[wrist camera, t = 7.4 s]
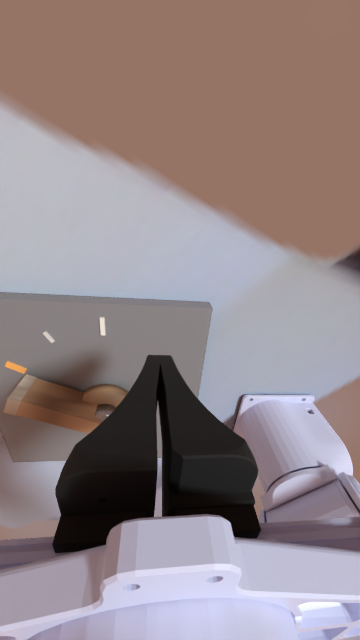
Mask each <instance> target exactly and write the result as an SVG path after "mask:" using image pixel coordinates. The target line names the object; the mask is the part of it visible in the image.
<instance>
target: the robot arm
mask: <svg viewBox="0 0 360 640" xmlns="http://www.w3.org/2000/svg"><path fill="white" fill-rule="evenodd" d="M314 399H315V398H314V396H313V395H245V396H243V398H242V401H241V405H240V408H239V412H238V416H237V419H236V423H235V426H234V430H233V431H232V430H231V429H229V428H228V427H227V426H225V425H224V424H223V423H222V422H220V421H219V420H218V419H217V418H216V417H215V416H214V415H213V414H212V413H211V412H210V411H208V410H207V408H206V407H205V406H204V405H203V404H202V403H201V402H200V401H199V400H198V398H197V397H196V396H195V395H194V393H193V392H192V391H191V389H190V388H189V387H188V385H187V384H186V382H185V381H184V379H183V377H182V376H181V374H180V372H179V371H178V369H177V367H176V365H175V362H174V360H173V357H172V356H171V355H148V356H147V358H146V361H145V364H144V366H143V368H142V370H141V372H140V374H139V376H138V378H137V380H136V381H135V383H134V384H133V386H132V388H131V389H130V391H129V392H128V393H127V395H126V396H125V397H124V399H123V400H122V401H121V402H120V404H119V405H118V406H117V407H116V408H115V409H114V410H113V412H112V413H111V414H110V415H109V416H108V417H107V418H106V419H105V420H104V421H103V422H101V423H100V424H99V425H98V426H97V427H96V428H95V429H94V430H93V431H92V432H90V433H89V434H88V435H87V436H85V437H84V438H83V439H82V440H80V441H79V442H78V443H77V444H75V446H74V448H73V450H72V451H71V453H70V455H69V457H68V459H67V461H66V463H65V465H64V467H63V469H62V472H61V475H60V478H59V480H58V483H57V486H56V498H57V501H58V505H59V509H60V512H61V517H60V520H59V524H58V527H57V530H56V534H55V537H41V538H26V539H11V540H0V640H360V484H359V483H358V482H357V480H356V479H355V478H354V477H353V476H352V475H353V466H352V462H351V458H350V455H349V453H348V451H347V449H346V447H345V445H344V443H343V442H342V441H341V439H340V438H339V437H338V435H337V434H336V433H335V432H334V430H333V429H332V428H331V426H330V425H329V424H328V422H327V421H326V420H325V418H324V417H323V416H322V414H321V413H320V412H319V411H318V409H317V408H316V407H315V405H314V404H313V402H314ZM157 404H158V406H159V416H160V426H161V436H162V517H154V510H155V497H156V482H157V418H156V413H157ZM257 475H258V476H259V478H260V481H261V484H262V487H263V489H264V492H265V494H264V495H263V496H261V500H262V503H263V506H264V509H262V510H261V511H260V513H259V521H258V518H257V515H256V512H255V509H254V504H255V500H254V496H253V494H252V488H253V486H254V483H255V480H256V478H257Z"/></svg>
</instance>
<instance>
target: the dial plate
mask: <svg viewBox="0 0 360 640" xmlns="http://www.w3.org/2000/svg"><path fill="white" fill-rule="evenodd" d="M211 314H212V307H211V305H210V303H209V302H195V301H175V300H154V299H133V298H112V297H91V296H70V295H49V294H28V293H7V292H0V429H1V431H2V434H3V437H4V439H5V442H6V445H7V447H8V450H9V452H10V455H11V458H12V460H13V462H35V461H67V459H68V457H69V455H70V453H71V451H72V450H73V448H74V446H75V444H77V443H78V442H79V441H80V440H82V439H83V438H84V437H85V436H87V435H88V434H87V433H83V432H79V431H75V430H72V429H68V428H64V427H60V426H56V425H53V424H49V423H45V422H41V421H37V420H34V419H30V418H26V417H22V416H18V415H16V416H15V415H11V414H7V413H3V412H4V409H5V406H6V402H7V399H8V397H9V396H10V395H11V393H12V392H13V391H14V389H15V388H16V387H17V385H18V384H19V383H20V381H21V380H22V379H23V377H24V376H25V375H26V374H28V375H31V376H34V377H37V378H38V379H41V380H45V381H48V382H51V383H54V384H57V385H61V386H64V387H67V388H70V389H73V390H77V391H80V392H83V393H84V392H85V391H86V390H88V389H89V388H91V387H94V386H97V385H103V384H109V385H116V386H119V387H122V388H124V389H125V390H127V391H128V392H129V391H130V389H131V388H132V386H133V384H134V383H135V381H136V380H137V378H138V376H139V374H140V372H141V370H142V368H143V366H144V364H145V361H146V358H147V356H148V355H171V356H172V357H173V360H174V362H175V365H176V367H177V369H178V371H179V372H180V374H181V376H182V377H183V379H184V381H185V382H186V384H187V385H188V387H189V388H190V389H191V391H192V392H193V393H194V395H195V396H196V397H197V398H198V394H199V388H200V382H201V376H202V370H203V363H204V357H205V351H206V345H207V339H208V333H209V327H210V321H211ZM156 418H157V458H162V436H161V426H160V416H159V406H158V404H157V413H156Z"/></svg>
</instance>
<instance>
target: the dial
mask: <svg viewBox="0 0 360 640" xmlns="http://www.w3.org/2000/svg"><path fill="white" fill-rule="evenodd" d="M127 393H128V391H127V390H125V389H124V388H122V387H119V386H116V385H109V384H103V385H97V386H94V387H91V388H89V389H88V390H86V391H85V392H84V393H83V392H80V391H77V390H73V389H70V388H67V387H64V386H61V385H57V384H54V383H51V382H48V381H45V380H41V379H38V378H37V377H34V376H31V375H28V374H26V375H25V376H24V377H23V379H22V380H21V381H20V383H19V384H18V385H17V387H16V388H15V389H14V391H13V392H12V393H11V395H10V396H9V397H8V399H7V402H6V406H5V409H4V412H3V413H7V414H11V415H15V416H16V415H18V416H22V417H26V418H30V419H34V420H37V421H41V422H45V423H49V424H53V425H56V426H60V427H64V428H68V429H72V430H75V431H79V432H83V433H87V434H89V433H90V432H92V431H93V430H94V429H95V428H96V427H97V426H98V425H99V424H100V423H101V422H103V421H104V420H105V419H106V418H107V417H108V416H109V415H110V414H111V413H112V412H113V410H114V409H115V408H116V407H117V406H118V405H119V404H120V402H121V401H122V400H123V399H124V397H125V396H126V395H127Z"/></svg>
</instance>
